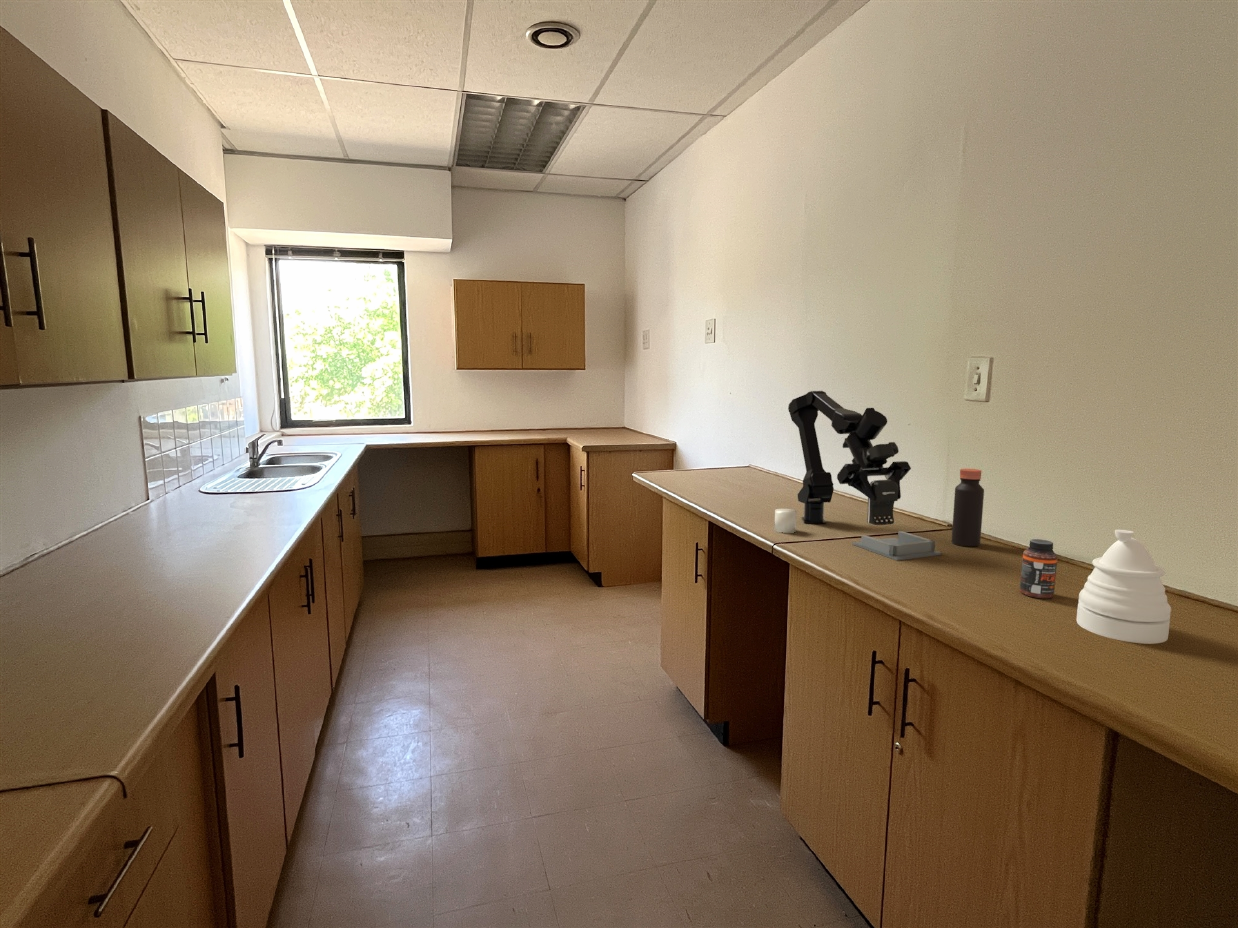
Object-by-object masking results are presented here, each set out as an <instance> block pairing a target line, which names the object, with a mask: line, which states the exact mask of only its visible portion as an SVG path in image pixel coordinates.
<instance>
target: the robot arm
mask: <svg viewBox="0 0 1238 928" xmlns="http://www.w3.org/2000/svg"><path fill="white" fill-rule="evenodd" d="M787 411H788V412H789V416H790V418H791V421H792V422H793V424H794V425H796V427H797V428H798V434H799V439H800V444H801V448H802V449H801V450H802V455H803V460H804V464H805V465H804V466H805V470H806V471H805V475H804V477H803V480H802V487H801V489H800V490H799V491H798V493H797V501H798V502H800V503H803V504H804V511H803V516H801V521H802V522H803V524H817V525H818V524H823V525H825V524H827V521H826V520H825V519H824V513H825V512H824V510H825V509H824V508H825V503H831V502H832V498H833V493H834V490H835V488H834V482H833V478H832V474H831V472H830V471H826V470H825V469H824V466H823V463H822V457H821V452H820V445H819V441H818V436H817V431H816V426H815V424H816V421H817V419H818V416H819V412H820V413H821V414H823V415H824V416H825V417H826V418H827V419H829V420H830V422H831V427H832V429H833V430H834V431H835V432H836V433H837V434H838V435H847V436H846V437H845V438H844V441H843V443H842V448H843V449H848V450H849V451H850V453H851V455H852V457H853V458H852V460H851V462H852V463H844V465H843V466H842V468H841V469H840V471H838V473H837V474H836V475H837V476H836V479H837V482H838V483H839V484H840V485H848V487H852V488H853V489H855V490H857V491H858V492H860V493H861V494H863V495H864V496H866V497H867V499H868V498H870V499H871V500H872V501H875V499H876V497H875V494H874V492H873V489H872V487H871V485H870V483H871V482H870V481H869V479H868V477H879V476H881V477H882V476H883V477H885V480H891V481H894V482H896V483H897V485H898V500H900V499H901V497H902V494H901V482H900V481H901V480H902V479H903V478H905V477H906V475H907V474H908V473H909V472H910V470H912V467H911V464H909V462H908V461H905V460H902V461H900V460H899V461H892V462H891V464H889V466H888V467H887V466H886V467H884V465H886V464H887V463H888V460H887V459H890V458H893V457H895V455H897V454H899V452H900V451H899V447H898V445H897V444H896V442H895V441H893V442H892V441H891V442H888V443H880V444H875V445H873V443H872V442H871V441H873V440H875V439H876V438H877V437H878V436H879V434H880V433H881V432H882V431H883V429H884V428H885V426H886V425H887V424H888V419H887V417H886V415H884V414H883V413H881V412H880V411H877V410H875V408H874V407H866V409H865V410H864V412H863V414H862V413H859V412H858V411H855V410H852V409H846V408H844V407H843V406H842V405H841V404H839V403H838V402H837V401H836V400H835V399H833V398H832V397H831V396H829V395H828V394H827V393H826V391H823V390H810V391H808V392H807V393H805V394H803V395H801V396H798V397H796V398H793V399H792V400H791V401H790V402H789V404H788V408H787Z"/></svg>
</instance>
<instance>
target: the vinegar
mask: <svg viewBox="0 0 1238 928" xmlns="http://www.w3.org/2000/svg"><path fill="white" fill-rule="evenodd" d="M959 479H960V482H959V484H958V485H956V486H955V488H954V498H953V499H954V500H953V515H952V530H951V543H952V544H954V545H956V546H961V547H965V548H966V547H967V548H968V547H969V548H971V547H972V548H976V547H979V546H980V545H981V538H982V537H981V535H982V524H983V513H984V512H983V511H984V500H985V499H984V496H985V489H984V487H982V486H981V484H980V482H981V479H982V470H981V469H976V468H960V470H959Z"/></svg>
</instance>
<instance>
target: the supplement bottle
mask: <svg viewBox="0 0 1238 928" xmlns="http://www.w3.org/2000/svg"><path fill="white" fill-rule="evenodd" d="M1028 546H1029V547H1028V548H1027V549H1025V550H1024V551H1023V553H1022V563H1021V574H1020V582H1019V591H1020V593H1022V594H1023V595H1025V596H1028V597H1031V598H1035V599H1045V600H1046V599H1051V598H1053V597H1054V595H1055V587H1056V578H1057V570H1058V568H1057V567H1058V555H1057V553H1056V552H1055V551H1054V550H1053V549H1054V542H1053V541H1050V540H1047V539H1039V538H1037V539H1036V538H1032V539H1030V540H1029V545H1028Z"/></svg>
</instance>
